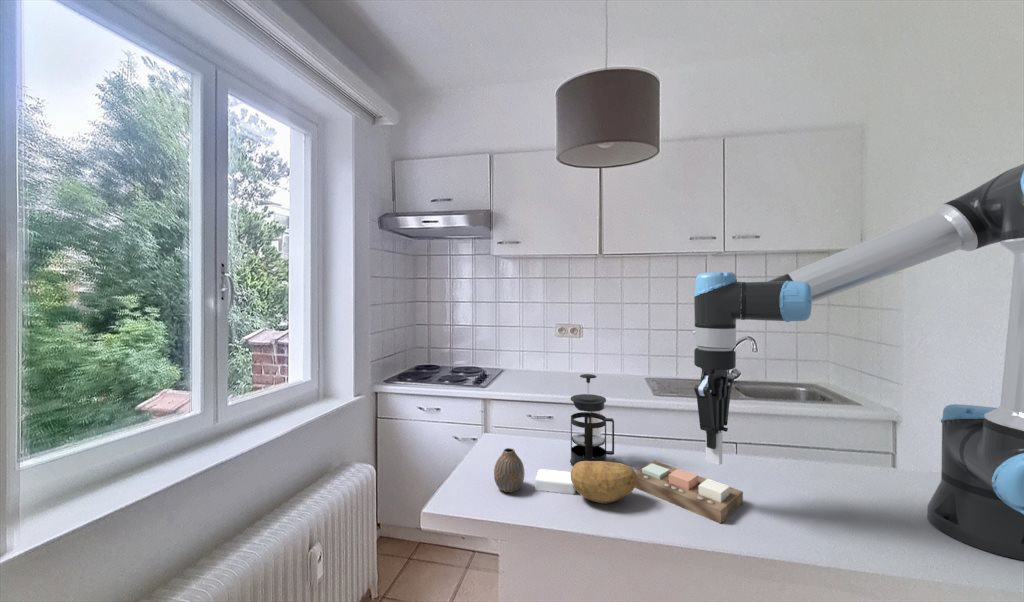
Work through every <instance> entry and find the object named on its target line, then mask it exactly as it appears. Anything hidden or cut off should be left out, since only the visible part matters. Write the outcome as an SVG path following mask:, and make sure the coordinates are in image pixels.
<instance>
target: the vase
mask: <svg viewBox="0 0 1024 602" xmlns="http://www.w3.org/2000/svg"><path fill="white" fill-rule="evenodd" d="M493 478H494V482H495V484H496V486H497V488H498V489H499V490H500V491H502V492H503V491H504V492H503V493H507V492H511V493H515V492H517V491H518V490H520V488H521V487H522V485H523V483H524V481H525V467H524V464H523V462H522V459H521V458H520V457H519V456H518V455H517V453H516V451H515V449H514V448H512V447H505V448H504V449H503V451H502V453H501V455H500V456H499V457H498V458H497V460H496V462H495V464H494V468H493Z"/></svg>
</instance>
